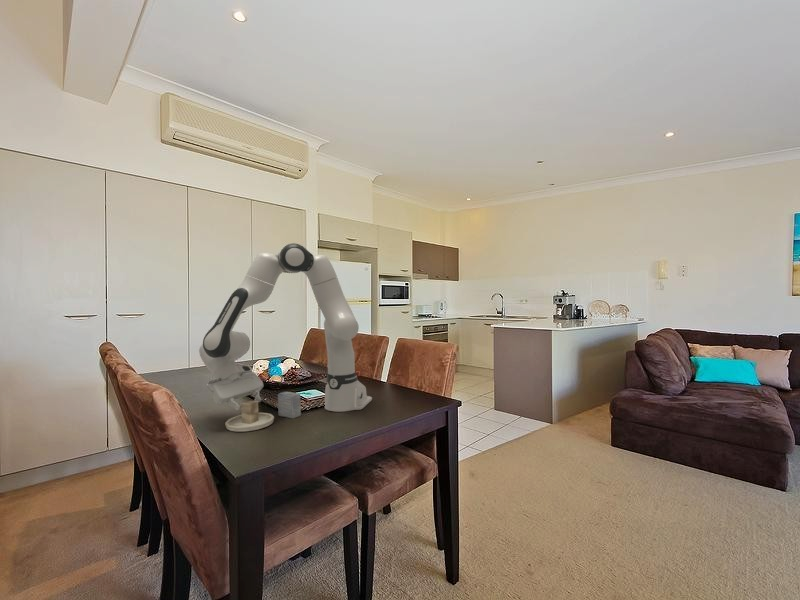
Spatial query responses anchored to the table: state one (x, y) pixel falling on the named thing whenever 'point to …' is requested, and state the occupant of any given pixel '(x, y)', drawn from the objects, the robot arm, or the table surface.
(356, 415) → the table surface
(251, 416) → the birch block
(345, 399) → the robot arm
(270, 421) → the dish
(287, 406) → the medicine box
